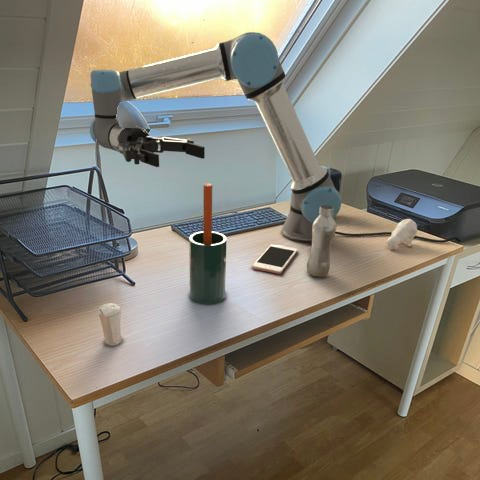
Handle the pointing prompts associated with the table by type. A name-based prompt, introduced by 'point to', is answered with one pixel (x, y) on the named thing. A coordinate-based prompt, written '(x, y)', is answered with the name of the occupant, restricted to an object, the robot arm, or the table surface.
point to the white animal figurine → (402, 234)
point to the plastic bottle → (321, 242)
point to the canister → (336, 178)
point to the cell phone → (274, 259)
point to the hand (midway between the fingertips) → (181, 156)
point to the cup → (207, 268)
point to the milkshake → (110, 323)
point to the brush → (207, 214)
